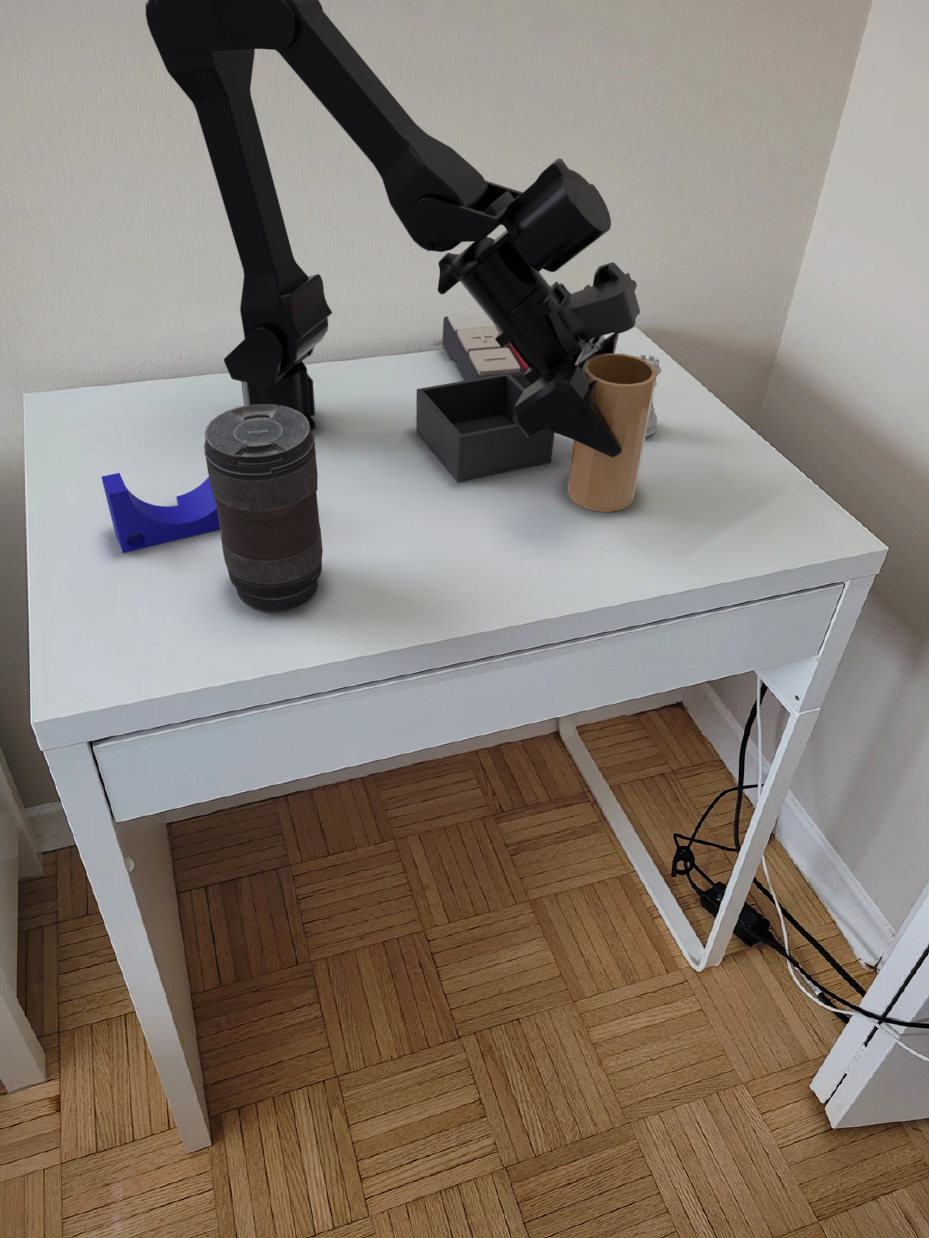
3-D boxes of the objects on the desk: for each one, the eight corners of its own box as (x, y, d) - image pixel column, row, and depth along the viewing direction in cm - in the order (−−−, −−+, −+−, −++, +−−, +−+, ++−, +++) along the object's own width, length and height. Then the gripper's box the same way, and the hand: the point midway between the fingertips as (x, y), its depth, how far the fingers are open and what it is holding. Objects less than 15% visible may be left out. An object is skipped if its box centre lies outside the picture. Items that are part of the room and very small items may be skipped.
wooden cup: (588, 517, 89) (607, 391, 81) (555, 483, 93) (570, 359, 85) (646, 504, 91) (670, 379, 83) (611, 471, 95) (631, 349, 87)
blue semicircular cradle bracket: (242, 495, 89) (234, 439, 86) (257, 520, 86) (250, 463, 83) (111, 525, 85) (97, 467, 81) (123, 553, 82) (108, 494, 78)
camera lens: (221, 566, 81) (196, 408, 71) (315, 552, 83) (303, 396, 73) (233, 626, 75) (207, 462, 66) (334, 609, 77) (323, 448, 68)
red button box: (476, 372, 103) (442, 310, 113) (474, 407, 106) (441, 343, 116) (572, 364, 105) (530, 304, 116) (567, 398, 108) (526, 336, 119)
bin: (457, 483, 93) (458, 437, 89) (416, 432, 100) (416, 389, 97) (551, 462, 96) (556, 418, 93) (505, 415, 103) (508, 372, 100)
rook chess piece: (631, 415, 104) (643, 346, 99) (664, 430, 102) (677, 361, 97) (605, 428, 102) (616, 358, 97) (638, 444, 100) (651, 374, 94)
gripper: (566, 284, 71) (685, 441, 76) (611, 210, 85) (710, 347, 90) (461, 364, 78) (577, 504, 83) (519, 284, 91) (616, 408, 96)
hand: (624, 436), depth 88 cm, fingers open, 7 cm apart
